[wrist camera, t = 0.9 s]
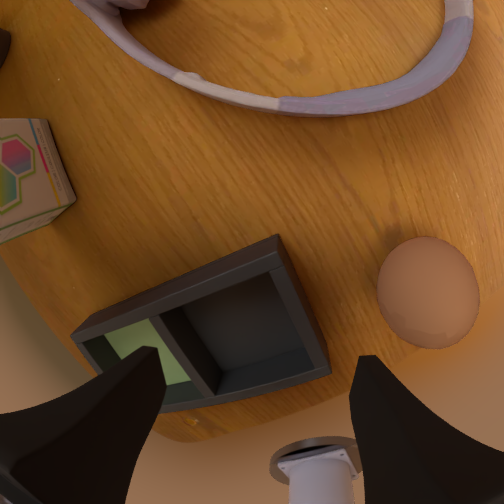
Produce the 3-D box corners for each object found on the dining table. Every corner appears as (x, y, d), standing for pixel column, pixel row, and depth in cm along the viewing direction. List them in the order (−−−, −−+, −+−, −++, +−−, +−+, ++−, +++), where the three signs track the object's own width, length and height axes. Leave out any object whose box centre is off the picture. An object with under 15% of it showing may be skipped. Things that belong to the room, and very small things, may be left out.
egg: (432, 303, 16) (483, 366, 10) (360, 309, 17) (392, 386, 10) (444, 224, 15) (516, 264, 8) (366, 224, 15) (419, 270, 9)
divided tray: (326, 343, 18) (332, 373, 15) (147, 391, 21) (133, 416, 19) (278, 233, 16) (277, 250, 13) (91, 314, 19) (69, 335, 17)
